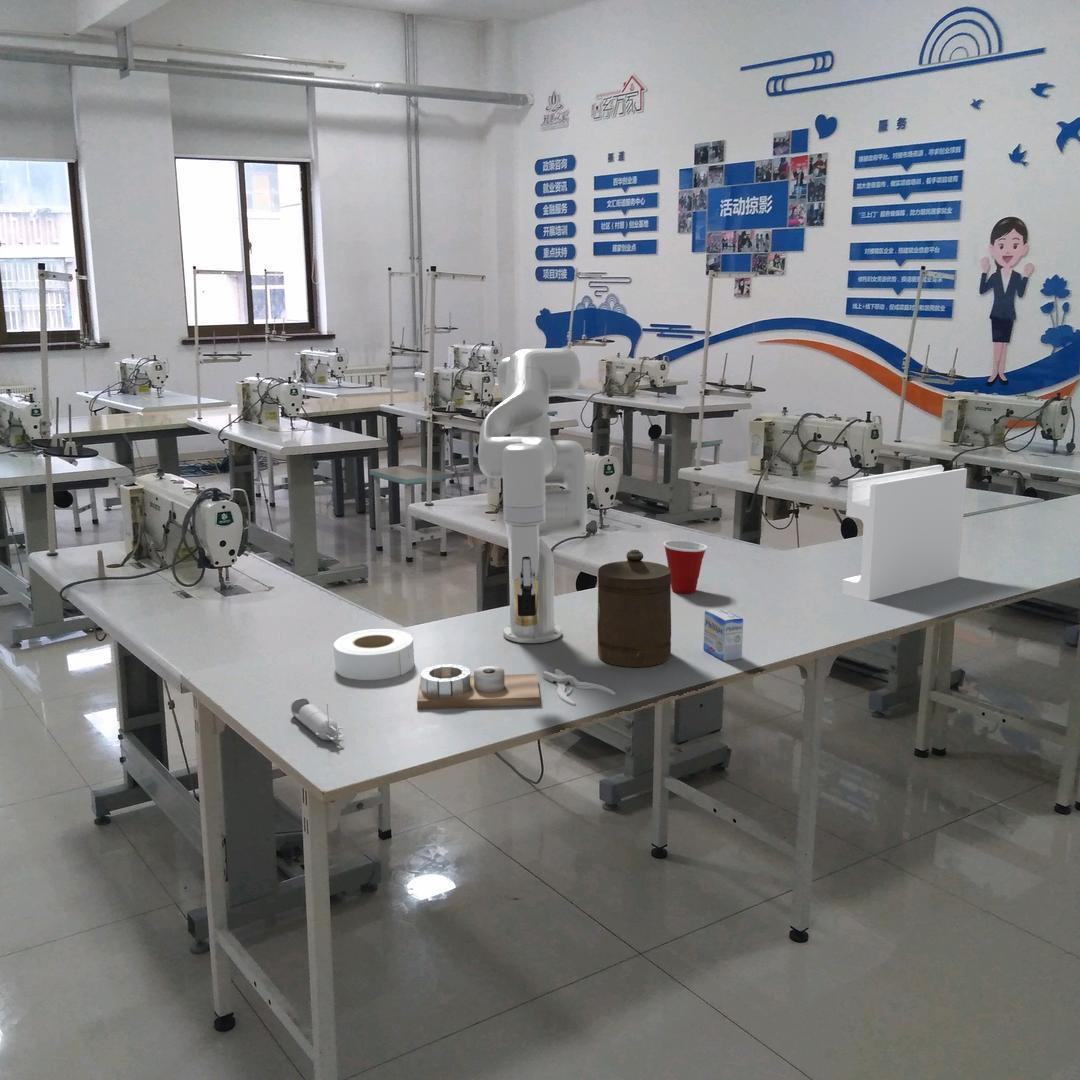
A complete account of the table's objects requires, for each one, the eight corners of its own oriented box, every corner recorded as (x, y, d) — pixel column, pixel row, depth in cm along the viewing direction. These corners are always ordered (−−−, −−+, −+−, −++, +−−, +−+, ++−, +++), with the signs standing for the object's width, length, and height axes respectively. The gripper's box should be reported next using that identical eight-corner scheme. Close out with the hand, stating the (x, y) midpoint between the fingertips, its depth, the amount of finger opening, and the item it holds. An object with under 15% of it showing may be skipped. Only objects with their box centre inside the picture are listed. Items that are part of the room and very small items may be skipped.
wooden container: (631, 639, 227) (632, 538, 222) (685, 655, 217) (687, 550, 212) (582, 655, 217) (582, 551, 212) (636, 673, 207) (637, 564, 202)
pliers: (572, 699, 191) (528, 675, 203) (572, 707, 191) (528, 682, 204) (616, 688, 196) (571, 664, 208) (616, 696, 196) (571, 672, 209)
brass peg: (514, 618, 197) (513, 577, 195) (537, 618, 197) (537, 576, 195) (514, 626, 193) (513, 584, 191) (539, 625, 193) (538, 583, 191)
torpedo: (284, 717, 188) (281, 682, 187) (309, 711, 191) (307, 676, 189) (326, 752, 174) (323, 714, 172) (352, 745, 176) (350, 708, 175)
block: (868, 600, 252) (875, 484, 246) (841, 593, 259) (847, 479, 253) (958, 577, 272) (967, 468, 265) (931, 570, 278) (939, 464, 272)
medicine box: (702, 650, 220) (703, 610, 218) (721, 647, 221) (722, 607, 219) (723, 662, 213) (724, 620, 211) (742, 658, 214) (744, 617, 212)
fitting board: (421, 684, 202) (420, 661, 201) (536, 681, 203) (536, 658, 202) (417, 708, 191) (416, 684, 190) (540, 705, 192) (539, 680, 191)
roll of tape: (382, 686, 202) (380, 658, 201) (318, 673, 210) (316, 646, 209) (430, 661, 216) (429, 635, 214) (368, 649, 223) (367, 624, 222)
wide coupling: (422, 680, 201) (422, 664, 200) (470, 678, 201) (470, 663, 200) (420, 697, 192) (419, 682, 191) (470, 696, 192) (469, 680, 192)
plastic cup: (713, 595, 259) (714, 547, 256) (671, 598, 256) (672, 550, 254) (696, 583, 269) (697, 537, 266) (656, 586, 267) (656, 540, 264)
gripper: (502, 503, 198) (504, 597, 202) (504, 525, 181) (506, 626, 186) (542, 502, 198) (544, 596, 203) (548, 524, 182) (549, 625, 186)
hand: (526, 610), depth 194 cm, fingers closed on brass peg, 4 cm apart
